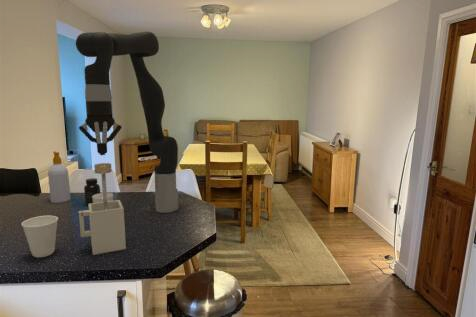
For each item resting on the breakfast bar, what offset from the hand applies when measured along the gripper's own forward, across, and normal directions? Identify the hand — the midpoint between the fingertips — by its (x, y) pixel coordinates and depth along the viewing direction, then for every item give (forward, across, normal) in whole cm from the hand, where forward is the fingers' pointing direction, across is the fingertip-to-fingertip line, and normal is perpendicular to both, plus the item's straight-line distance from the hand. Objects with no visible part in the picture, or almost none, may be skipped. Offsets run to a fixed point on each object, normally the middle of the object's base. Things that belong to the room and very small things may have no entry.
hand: (102, 154), depth 104 cm
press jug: (+31, +2, 0) cm, 31 cm away
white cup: (+31, -1, -28) cm, 42 cm away
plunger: (+22, 0, 0) cm, 22 cm away
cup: (+31, +19, -3) cm, 37 cm away
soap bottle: (+31, +16, -64) cm, 73 cm away
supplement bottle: (+31, +2, -51) cm, 60 cm away
